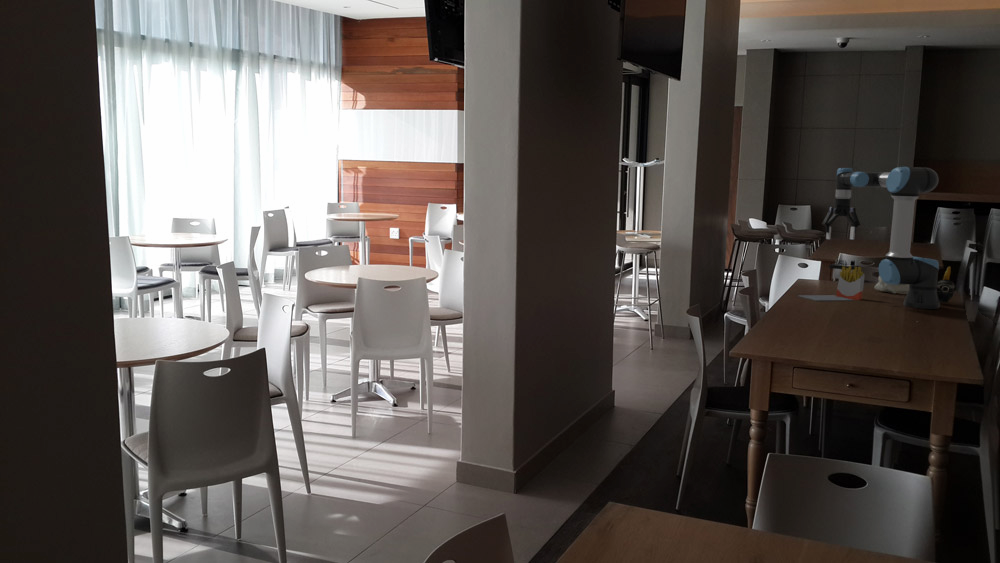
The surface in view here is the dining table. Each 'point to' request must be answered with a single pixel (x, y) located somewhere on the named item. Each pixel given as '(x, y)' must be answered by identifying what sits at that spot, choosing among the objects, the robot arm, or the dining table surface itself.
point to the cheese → (891, 287)
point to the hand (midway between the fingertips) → (840, 239)
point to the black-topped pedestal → (838, 267)
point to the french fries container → (851, 283)
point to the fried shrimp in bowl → (945, 287)
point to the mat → (825, 298)
